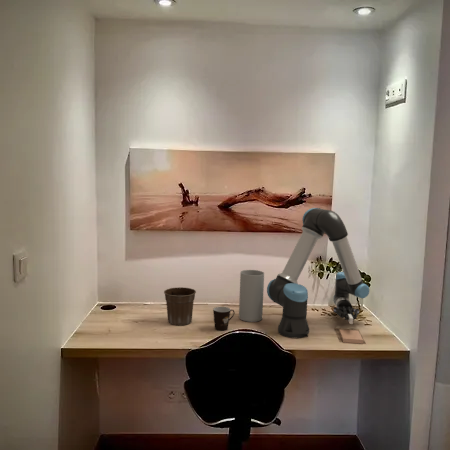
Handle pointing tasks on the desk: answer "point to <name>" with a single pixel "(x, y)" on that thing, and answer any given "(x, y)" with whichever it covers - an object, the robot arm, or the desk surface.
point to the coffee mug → (222, 318)
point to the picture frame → (350, 336)
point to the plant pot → (179, 305)
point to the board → (346, 329)
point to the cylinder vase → (251, 295)
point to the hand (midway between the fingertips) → (351, 321)
